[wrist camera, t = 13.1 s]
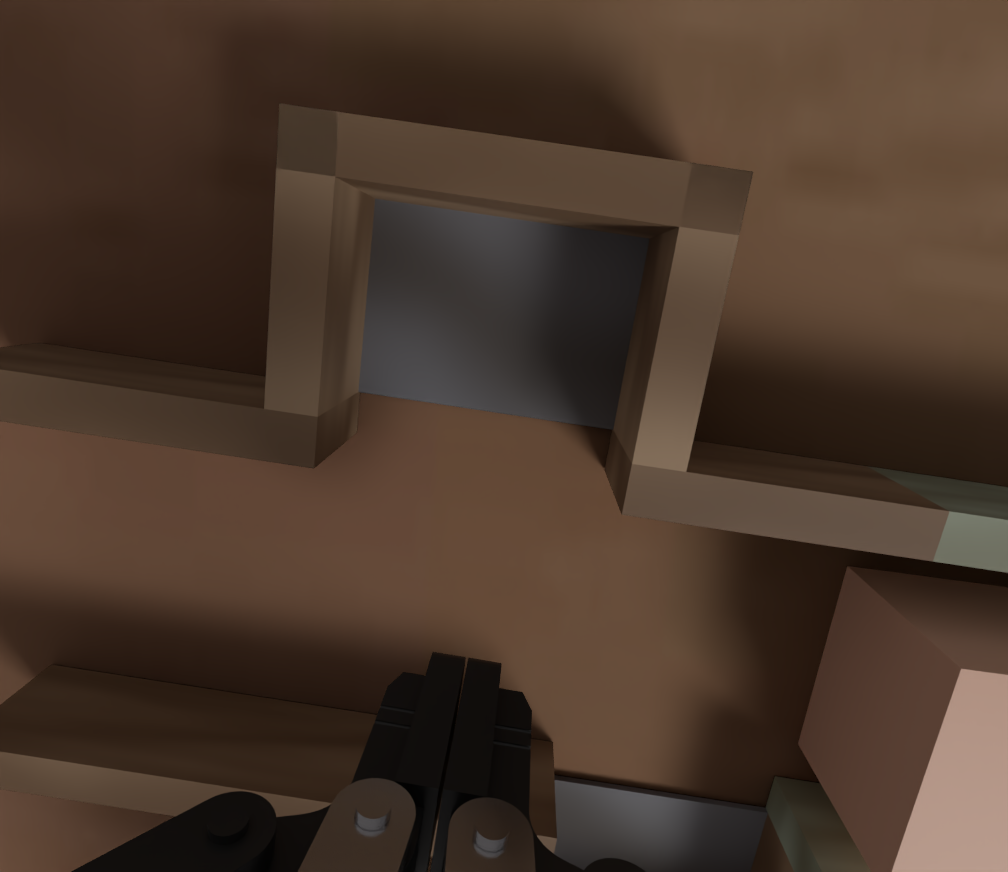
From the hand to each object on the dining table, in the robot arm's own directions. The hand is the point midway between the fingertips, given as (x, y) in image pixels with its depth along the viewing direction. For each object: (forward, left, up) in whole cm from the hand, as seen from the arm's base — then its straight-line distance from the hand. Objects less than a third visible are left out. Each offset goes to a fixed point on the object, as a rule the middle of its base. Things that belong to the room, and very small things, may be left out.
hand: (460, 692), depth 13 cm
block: (+1, +13, -5) cm, 14 cm away
